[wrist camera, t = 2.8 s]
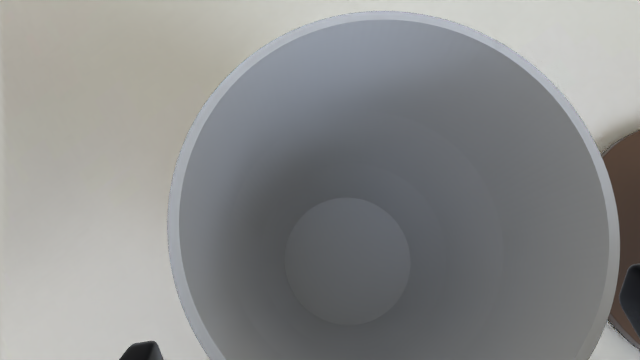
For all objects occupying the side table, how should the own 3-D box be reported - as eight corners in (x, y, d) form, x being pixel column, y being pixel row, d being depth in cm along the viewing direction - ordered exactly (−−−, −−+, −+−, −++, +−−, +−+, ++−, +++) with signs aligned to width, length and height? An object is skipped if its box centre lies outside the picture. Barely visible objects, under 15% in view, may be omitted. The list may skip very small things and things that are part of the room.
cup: (233, 369, 17) (142, 458, 7) (246, 154, 19) (188, 2, 9) (458, 373, 17) (653, 463, 8) (447, 159, 19) (591, 16, 10)
